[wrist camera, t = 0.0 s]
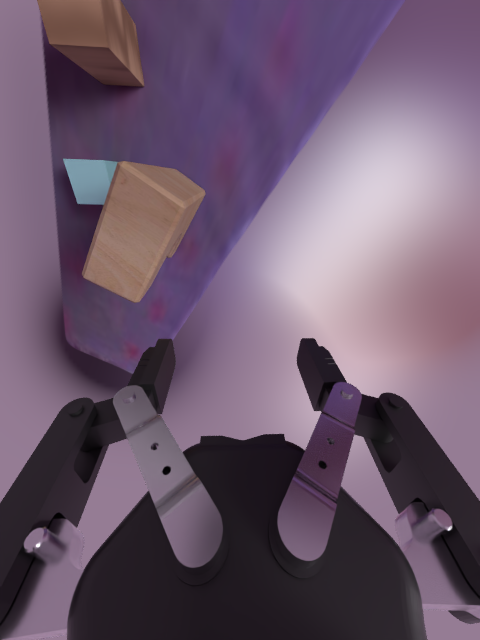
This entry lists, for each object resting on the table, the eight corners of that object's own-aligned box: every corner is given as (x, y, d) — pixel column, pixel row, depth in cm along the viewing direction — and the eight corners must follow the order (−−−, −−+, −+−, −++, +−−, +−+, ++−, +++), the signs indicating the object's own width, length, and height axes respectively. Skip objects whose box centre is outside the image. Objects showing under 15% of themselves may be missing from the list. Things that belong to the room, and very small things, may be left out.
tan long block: (90, 22, 25) (20, -57, 17) (135, 25, 25) (89, -51, 17) (103, 84, 28) (49, 43, 19) (144, 86, 28) (108, 47, 20)
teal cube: (84, 161, 32) (63, 158, 28) (120, 162, 32) (104, 160, 28) (96, 200, 35) (77, 203, 30) (128, 201, 35) (115, 204, 31)
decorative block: (175, 251, 39) (136, 307, 22) (144, 232, 37) (76, 277, 21) (207, 192, 35) (188, 206, 18) (174, 167, 33) (117, 155, 16)
